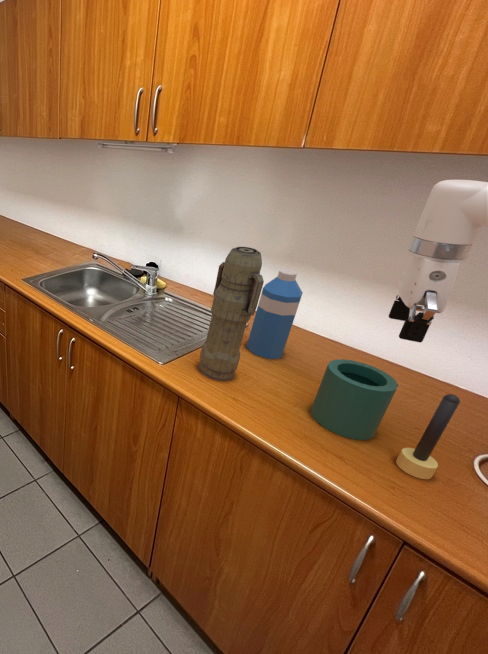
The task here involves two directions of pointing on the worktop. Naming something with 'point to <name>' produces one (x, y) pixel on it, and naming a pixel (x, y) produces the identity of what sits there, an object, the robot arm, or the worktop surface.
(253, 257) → the thermos
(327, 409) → the teal hollow cylinder
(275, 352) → the water bottle
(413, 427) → the worktop surface
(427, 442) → the joystick
